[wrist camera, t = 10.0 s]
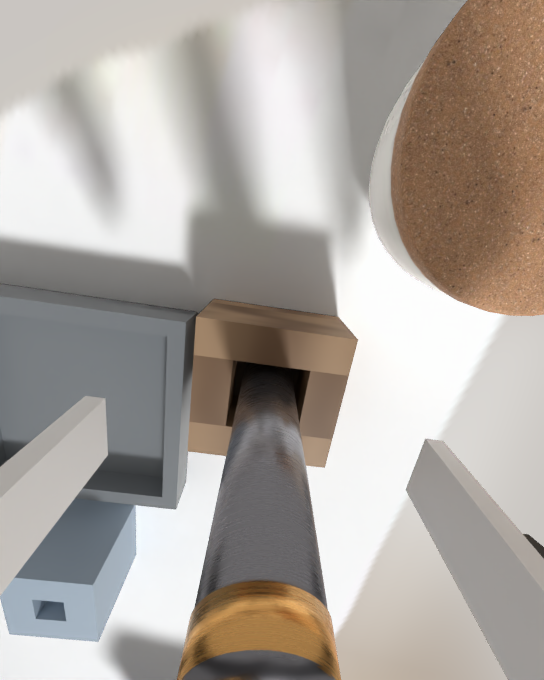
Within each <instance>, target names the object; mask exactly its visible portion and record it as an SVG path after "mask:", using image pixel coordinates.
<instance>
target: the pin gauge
mask: <svg viewBox="0 0 544 680" xmlns="http://www.w3.org/2000/svg"><path fill="white" fill-rule="evenodd" d="M177 680H341V677H340V671H339V664H338V657H337V651H336V645H335V638H334V632H333V626H332V620H331V616H330V614H329V612H328V609H327V602H326V595H325V589H324V582H323V576H322V569H321V563H320V556H319V550H318V543H317V537H316V530H315V524H314V517H313V511H312V504H311V497H310V491H309V484H308V478H307V471H306V465H305V458H304V452H303V445H302V439H301V432H300V426H299V419H298V412H297V406H296V399H295V393H294V386H293V380H292V373H291V368H287V367H279V366H272V365H265V364H257V363H250V362H246V365H245V369H244V374H243V378H242V383H241V388H240V393H239V398H238V402H237V407H236V412H235V417H234V421H233V426H232V431H231V436H230V441H229V445H228V450H227V455H226V460H225V465H224V469H223V474H222V479H221V484H220V489H219V493H218V498H217V503H216V508H215V513H214V517H213V522H212V527H211V532H210V537H209V541H208V546H207V551H206V556H205V560H204V565H203V570H202V575H201V580H200V584H199V589H198V594H197V599H196V604H195V608H194V610H193V612H192V614H191V616H190V621H189V625H188V630H187V635H186V639H185V644H184V649H183V653H182V658H181V663H180V667H179V672H178V677H177Z"/></svg>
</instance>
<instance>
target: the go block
mask: <svg viewBox="0 0 544 680" xmlns="http://www.w3.org/2000/svg"><path fill="white" fill-rule="evenodd" d="M357 342H358V339H357V338H356V337H355V336H354V335H353V333H352V332H351V331H350V330H349V329H348V328H347V327H346V325H345V324H344V323H343V322H342V321H341V320H340V318H339V317H335V316H328V315H322V314H315V313H308V312H301V311H294V310H287V309H280V308H274V307H267V306H260V305H253V304H246V303H239V302H232V301H226V300H219V299H213V300H212V301H211V302H210V303H209V304H208V305H207V306H206V307H205V308H204V309H203V310H202V311H201V312H200V313H199V314H198V315H197V316H196V326H195V341H194V357H193V372H192V388H191V404H190V419H189V435H188V450H187V451H190V452H198V453H206V454H215V455H223V456H226V455H227V450H228V445H229V441H230V436H231V431H232V426H233V421H234V417H235V412H236V407H237V402H238V398H239V393H240V388H241V383H242V378H243V374H244V369H245V365H246V362H250V363H257V364H265V365H272V366H279V367H287V368H291V373H292V380H293V386H294V393H295V399H296V406H297V412H298V419H299V426H300V432H301V439H302V445H303V452H304V458H305V465H307V466H315V467H324V468H325V464H326V460H327V457H328V453H329V449H330V445H331V441H332V437H333V434H334V430H335V426H336V422H337V418H338V414H339V411H340V407H341V403H342V399H343V395H344V391H345V388H346V384H347V380H348V376H349V372H350V368H351V365H352V361H353V357H354V353H355V349H356V345H357Z"/></svg>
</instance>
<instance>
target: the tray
mask: <svg viewBox="0 0 544 680" xmlns="http://www.w3.org/2000/svg"><path fill="white" fill-rule="evenodd" d="M196 316H197V312H194V311H187V310H180V309H173V308H166V307H160V306H153V305H146V304H139V303H132V302H125V301H118V300H111V299H104V298H97V297H90V296H83V295H76V294H69V293H62V292H55V291H48V290H41V289H34V288H27V287H20V286H13V285H6V284H0V467H1V466H2V465H3V464H4V463H6V462H7V461H8V460H9V459H10V458H12V457H13V456H14V455H15V454H16V453H18V452H19V451H20V450H21V449H22V448H24V447H25V446H26V445H27V444H28V443H30V442H31V441H32V440H33V439H34V438H36V437H37V436H38V435H39V434H40V433H42V432H43V431H44V430H45V429H46V428H47V427H49V426H50V425H51V424H52V423H53V422H55V421H56V420H57V419H58V418H59V417H61V416H62V415H63V414H64V413H65V412H67V411H68V410H69V409H70V408H71V407H73V406H74V405H75V404H76V403H77V402H79V401H80V400H81V399H82V398H83V397H85V396H91V397H99V398H105V401H106V423H107V444H108V456H107V457H106V458H105V459H104V461H103V462H102V463H101V465H100V466H99V467H98V469H97V470H96V471H95V473H94V474H93V475H92V476H91V478H90V479H89V480H88V482H87V483H86V484H85V486H84V487H83V488H82V490H81V491H80V492H79V494H78V495H77V496H76V497H75V499H85V500H94V501H103V502H112V503H121V504H130V505H140V506H149V507H158V508H167V509H176V508H177V505H178V503H179V500H180V497H181V494H182V491H183V488H184V486H185V483H186V473H187V457H188V451H187V450H188V435H189V419H190V404H191V388H192V372H193V357H194V341H195V326H196Z"/></svg>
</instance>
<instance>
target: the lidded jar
mask: <svg viewBox="0 0 544 680" xmlns="http://www.w3.org/2000/svg"><path fill="white" fill-rule="evenodd" d="M369 205H370V211H371V216H372V221H373V224H374V227H375V230H376V233H377V236H378V238H379V240H380V241H381V243H382V245H383V247H384V249H385V250H386V251H387V253H388V254H389V255H390V256H391V258H392V259H393V260H394V261H395V262H396V263H397V265H398V266H400V267H401V268H402V269H403V270H404V271H405V272H406V273H408V274H409V275H410V276H412V277H413V278H415V279H416V280H418V281H420V282H421V283H423V284H425V285H427V286H428V287H430V288H432V289H434V290H437V291H439V292H442V293H444V294H447V295H449V296H451V297H453V298H454V299H456V300H458V301H460V302H463V303H465V304H468V305H471V306H474V307H476V308H479V309H482V310H485V311H488V312H494V313H499V314H505V315H513V316H515V315H516V316H535V315H542V314H544V0H468V1H467V2H466V3H465V4H464V5H463V6H462V8H461V9H460V10H459V12H458V13H457V14H456V15H455V17H454V18H453V20H452V21H451V22H450V24H449V25H448V26H447V28H446V29H445V30H444V32H443V33H442V35H441V36H440V37H439V39H438V40H437V41H436V43H435V44H434V46H433V47H432V49H431V51H430V52H429V54H428V56H427V57H426V59H425V60H424V61H423V63H422V64H421V66H420V67H419V68H418V70H417V71H416V72H415V74H414V75H413V76H412V78H411V79H410V81H409V82H408V83H407V85H406V86H405V88H404V90H403V92H402V93H401V95H400V97H399V99H398V100H397V102H396V104H395V106H394V108H393V110H392V111H391V113H390V115H389V117H388V119H387V121H386V123H385V126H384V128H383V131H382V133H381V136H380V138H379V141H378V144H377V147H376V150H375V154H374V158H373V162H372V166H371V172H370V181H369Z"/></svg>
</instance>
